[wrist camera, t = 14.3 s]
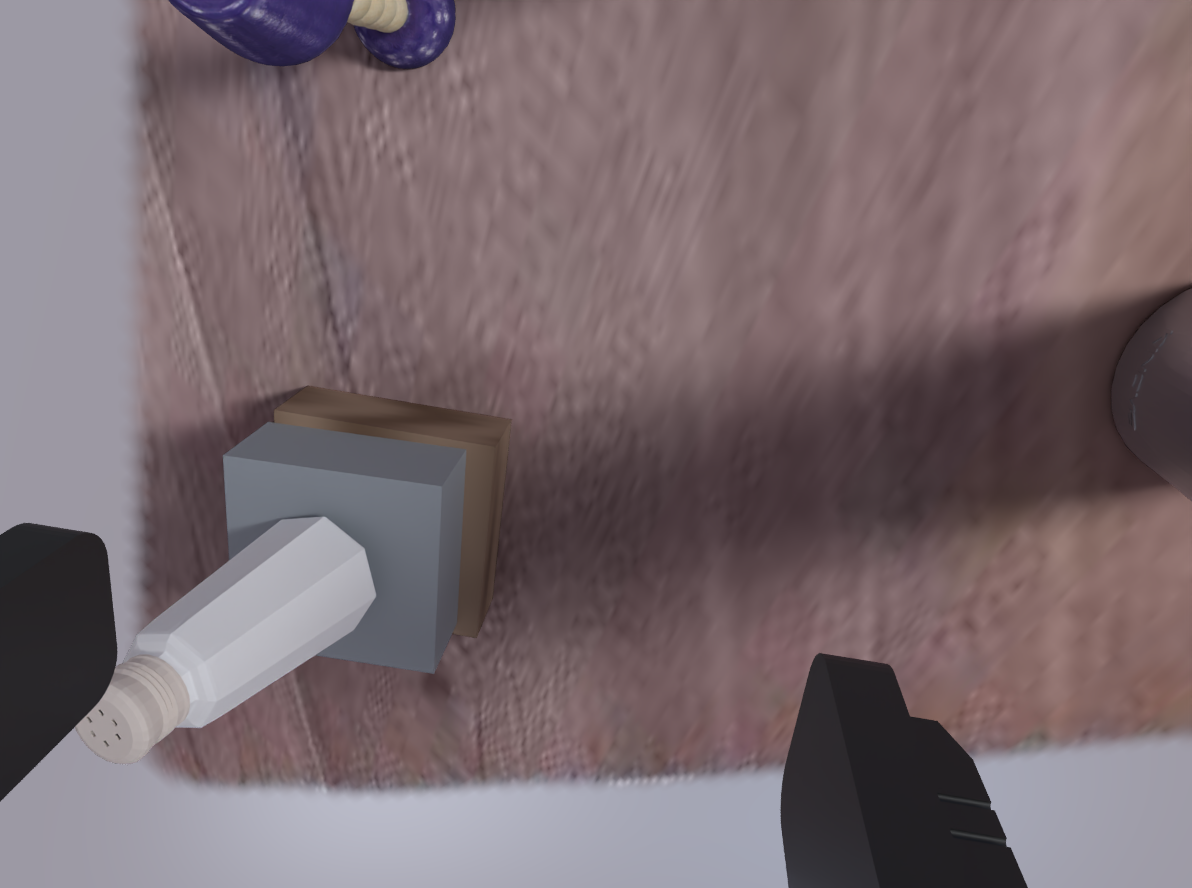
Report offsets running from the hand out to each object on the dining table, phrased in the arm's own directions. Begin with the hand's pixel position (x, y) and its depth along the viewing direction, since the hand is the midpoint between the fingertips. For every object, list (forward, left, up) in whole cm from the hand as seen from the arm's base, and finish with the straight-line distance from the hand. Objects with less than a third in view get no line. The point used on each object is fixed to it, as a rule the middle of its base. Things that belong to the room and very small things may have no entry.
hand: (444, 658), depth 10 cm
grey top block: (+10, +14, -26) cm, 31 cm away
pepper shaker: (+10, +14, -22) cm, 28 cm away
